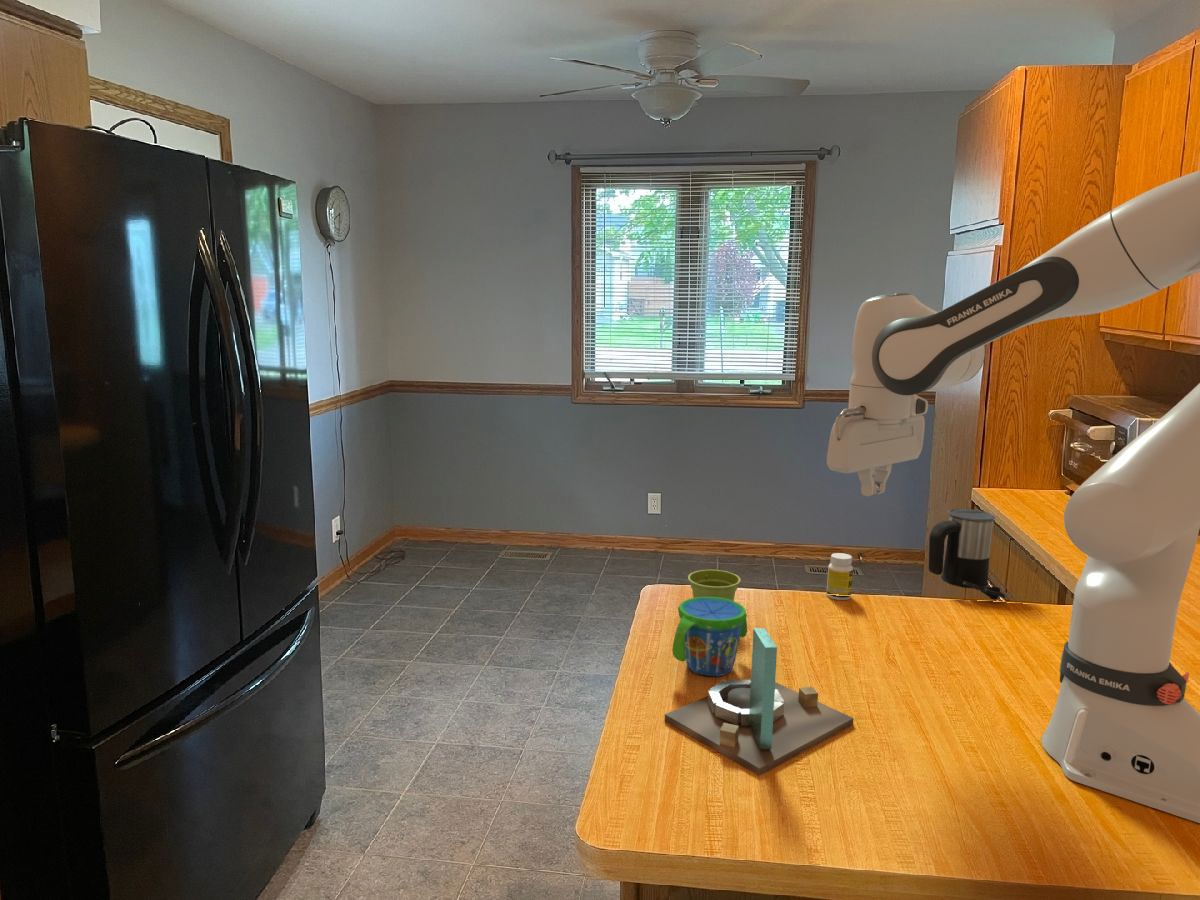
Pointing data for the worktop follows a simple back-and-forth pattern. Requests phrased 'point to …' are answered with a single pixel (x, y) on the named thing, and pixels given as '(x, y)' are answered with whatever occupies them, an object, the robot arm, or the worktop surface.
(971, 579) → the milk frother
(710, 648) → the snack cup
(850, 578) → the supplement bottle
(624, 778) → the worktop surface
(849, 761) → the worktop surface
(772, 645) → the ring with upright panel
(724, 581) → the plant pot
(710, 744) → the base
